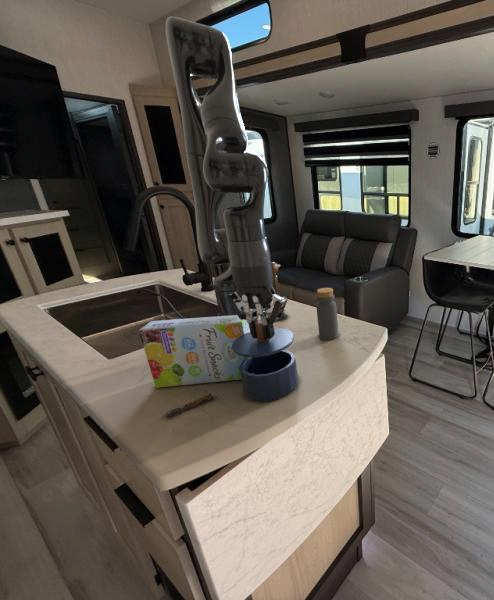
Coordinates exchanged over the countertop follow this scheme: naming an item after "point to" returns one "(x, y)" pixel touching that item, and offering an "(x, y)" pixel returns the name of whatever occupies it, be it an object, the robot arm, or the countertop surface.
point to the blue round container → (269, 376)
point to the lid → (262, 342)
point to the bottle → (327, 314)
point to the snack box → (193, 349)
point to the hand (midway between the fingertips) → (263, 337)
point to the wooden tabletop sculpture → (276, 288)
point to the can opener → (191, 404)
